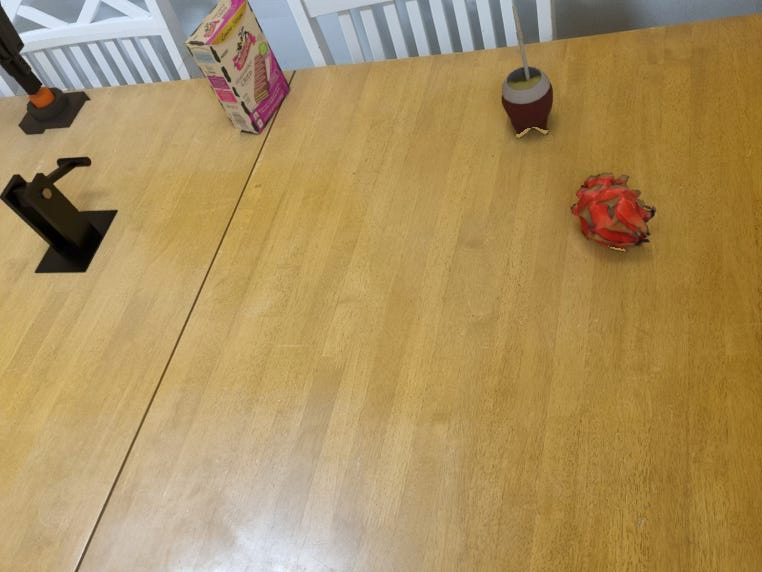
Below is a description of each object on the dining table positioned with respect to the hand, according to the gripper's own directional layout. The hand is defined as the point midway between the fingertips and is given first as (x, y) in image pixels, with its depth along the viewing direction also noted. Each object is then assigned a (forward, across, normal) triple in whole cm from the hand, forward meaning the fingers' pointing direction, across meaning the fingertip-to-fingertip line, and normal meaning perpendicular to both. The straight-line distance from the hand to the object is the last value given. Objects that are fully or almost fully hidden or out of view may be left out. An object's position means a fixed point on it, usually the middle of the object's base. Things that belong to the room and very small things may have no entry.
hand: (35, 89), depth 126 cm
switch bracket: (+6, +20, -30) cm, 37 cm away
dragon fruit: (+7, +100, -30) cm, 105 cm away
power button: (+3, 0, 0) cm, 3 cm away
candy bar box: (+7, +42, -2) cm, 42 cm away
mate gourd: (+7, +87, -9) cm, 88 cm away
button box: (+6, 0, 0) cm, 6 cm away
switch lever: (-2, +20, -26) cm, 33 cm away
